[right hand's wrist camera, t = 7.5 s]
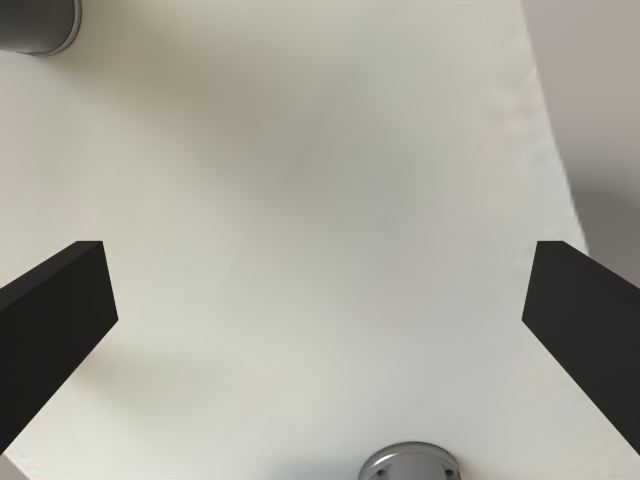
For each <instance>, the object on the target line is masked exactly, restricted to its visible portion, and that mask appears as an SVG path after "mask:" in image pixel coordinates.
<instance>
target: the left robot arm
mask: <svg viewBox="0 0 640 480" xmlns="http://www.w3.org/2000/svg"><path fill="white" fill-rule="evenodd" d="M80 19H81V7H80V0H0V50H3V51H12V52H17V53H24V54H28V55H36V56H48V55H53V54H56V53H58V52H60V51H62V50H64V49H65V48H66V47H67V46H68V45H69V44H70V43H71V42H72V41H73V39H74V38H75V36H76V34H77V32H78V29H79V25H80Z"/></svg>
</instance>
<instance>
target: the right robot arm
mask: <svg viewBox="0 0 640 480" xmlns="http://www.w3.org/2000/svg"><path fill="white" fill-rule="evenodd" d="M117 321H118V315H117V310H116V305H115V301H114V296H113V291H112V286H111V281H110V276H109V271H108V266H107V261H106V256H105V251H104V246H103V241H76V242H74V243H73V244H71V245H70V246H68V247H66V248H65V249H63V250H62V251H60V252H58V253H57V254H55V255H54V256H52V257H50V258H49V259H47V260H46V261H44V262H42V263H41V264H39V265H38V266H36V267H34V268H33V269H31V270H30V271H28V272H26V273H25V274H23V275H22V276H20V277H18V278H17V279H15V280H14V281H12V282H10V283H9V284H7V285H6V286H4V287H2V288H1V289H0V455H1V454H2V453H3V452H4V451H5V450H6V449H7V447H8V446H9V445H10V444H11V443H12V442H13V440H14V439H15V438H16V437H17V436H18V435H19V434H20V432H21V431H22V430H23V429H24V428H25V427H26V426H27V424H28V423H29V422H30V421H31V420H32V419H33V418H34V416H35V415H36V414H37V413H38V412H39V411H40V410H41V408H42V407H43V406H44V405H45V404H46V403H47V401H48V400H49V399H50V398H51V397H52V396H53V395H54V393H55V392H56V391H57V390H58V389H59V388H60V387H61V385H62V384H63V383H64V382H65V381H66V380H67V379H68V377H69V376H70V375H71V374H72V373H73V372H74V371H75V369H76V368H77V367H78V366H79V365H80V364H81V363H82V361H83V360H84V359H85V358H86V357H87V356H88V354H89V353H90V352H91V351H92V350H93V349H94V348H95V346H96V345H97V344H98V343H99V342H100V341H101V340H102V338H103V337H104V336H105V335H106V334H107V333H108V332H109V330H110V329H111V328H112V327H113V326H114V325H115V324H116V322H117ZM522 321H523V322H524V324H525V325H526V326H527V327H528V328H529V329H530V330H531V332H532V333H533V334H534V335H535V336H536V337H537V338H538V340H539V341H540V342H541V343H542V344H543V345H544V346H545V348H546V349H547V350H548V351H549V352H550V353H551V354H552V356H553V357H554V358H555V359H556V360H557V361H558V363H559V364H560V365H561V366H562V367H563V368H564V369H565V371H566V372H567V373H568V374H569V375H570V376H571V377H572V379H573V380H574V381H575V382H576V383H577V384H578V385H579V387H580V388H581V389H582V390H583V391H584V392H585V393H586V395H587V396H588V397H589V398H590V399H591V400H592V401H593V403H594V404H595V405H596V406H597V407H598V408H599V410H600V411H601V412H602V413H603V414H604V415H605V416H606V418H607V419H608V420H609V421H610V422H611V423H612V424H613V426H614V427H615V428H616V429H617V430H618V431H619V432H620V434H621V435H622V436H623V437H624V438H625V439H626V440H627V442H628V443H629V444H630V445H631V446H632V447H633V449H634V450H635V451H636V452H637V453H638V454H639V455H640V289H639V288H638V287H636V286H634V285H633V284H631V283H630V282H628V281H626V280H625V279H623V278H622V277H620V276H618V275H617V274H615V273H613V272H612V271H610V270H609V269H607V268H606V267H604V266H602V265H601V264H599V263H598V262H596V261H594V260H593V259H591V258H590V257H588V256H586V255H585V254H583V253H582V252H580V251H578V250H577V249H575V248H574V247H572V246H570V245H569V244H567V243H566V242H564V241H537V246H536V251H535V256H534V261H533V266H532V271H531V276H530V281H529V286H528V291H527V296H526V301H525V305H524V310H523V315H522ZM358 480H464V478H463V475H462V473H461V470H460V469H459V466H458V464H457V462H456V461H455V459H454V458H453V457H452V456H451V455H450V454H449V453H447V452H446V451H444V450H443V449H441V448H438V447H436V446H433V445H430V444H425V443H414V442H413V443H402V444H397V445H393V446H390V447H387V448H385V449H383V450H381V451H379V452H377V453H376V454H374V455H373V456H372V457H371V458H370V459H369V460H368V461H367V462H366V463H365V464H364V466H363V467H362V469H361V471H360V474H359V478H358Z"/></svg>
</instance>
